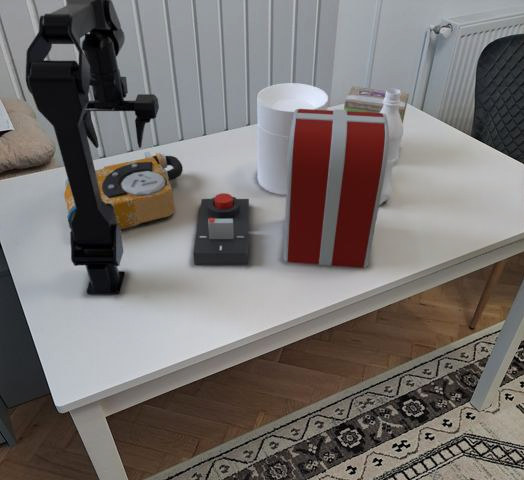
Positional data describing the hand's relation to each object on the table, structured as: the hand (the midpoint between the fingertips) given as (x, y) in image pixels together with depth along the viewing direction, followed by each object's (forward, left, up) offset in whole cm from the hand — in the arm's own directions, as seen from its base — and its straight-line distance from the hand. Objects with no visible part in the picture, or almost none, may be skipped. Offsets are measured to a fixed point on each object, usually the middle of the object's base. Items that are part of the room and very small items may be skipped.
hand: (118, 147), depth 112 cm
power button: (-5, -22, -11) cm, 25 cm away
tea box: (+27, -60, -15) cm, 67 cm away
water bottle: (+3, -58, -15) cm, 60 cm away
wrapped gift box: (-14, -45, -15) cm, 49 cm away
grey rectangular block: (-17, -22, -12) cm, 30 cm away
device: (+1, 0, -15) cm, 15 cm away
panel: (-17, -22, -15) cm, 31 cm away
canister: (+13, -38, -15) cm, 43 cm away
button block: (-5, -22, -15) cm, 27 cm away
